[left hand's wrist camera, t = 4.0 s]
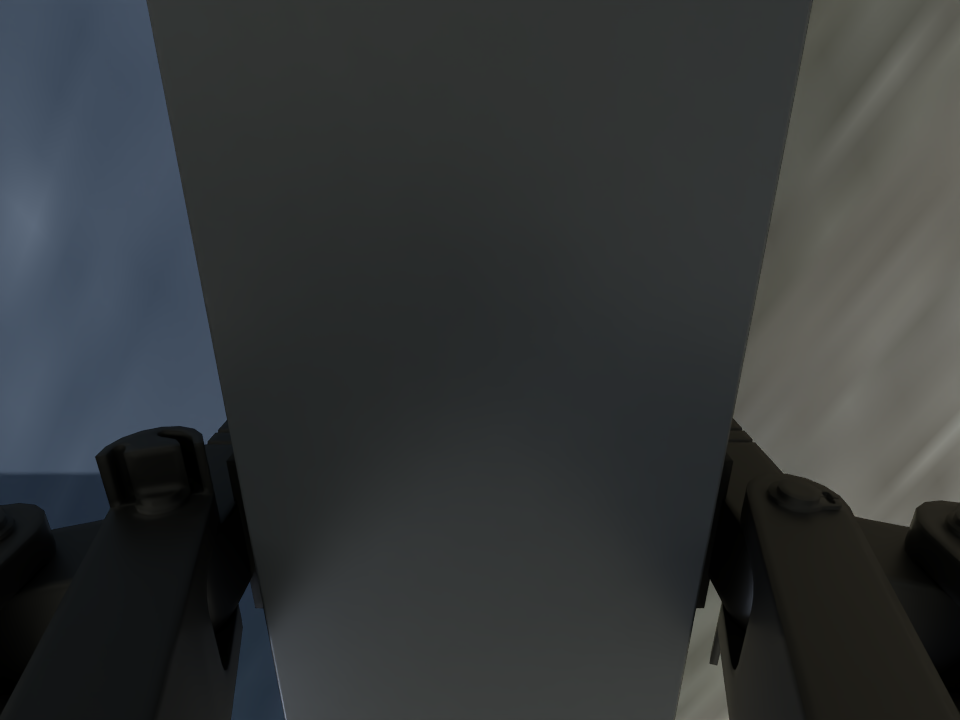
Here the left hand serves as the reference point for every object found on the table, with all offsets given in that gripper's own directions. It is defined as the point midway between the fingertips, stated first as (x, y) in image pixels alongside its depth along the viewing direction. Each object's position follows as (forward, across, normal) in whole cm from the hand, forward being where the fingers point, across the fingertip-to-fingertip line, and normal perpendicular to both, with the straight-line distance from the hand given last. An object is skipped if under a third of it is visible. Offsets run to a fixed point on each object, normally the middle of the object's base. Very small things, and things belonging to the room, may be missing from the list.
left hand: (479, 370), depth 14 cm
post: (+1, 0, -33) cm, 33 cm away
